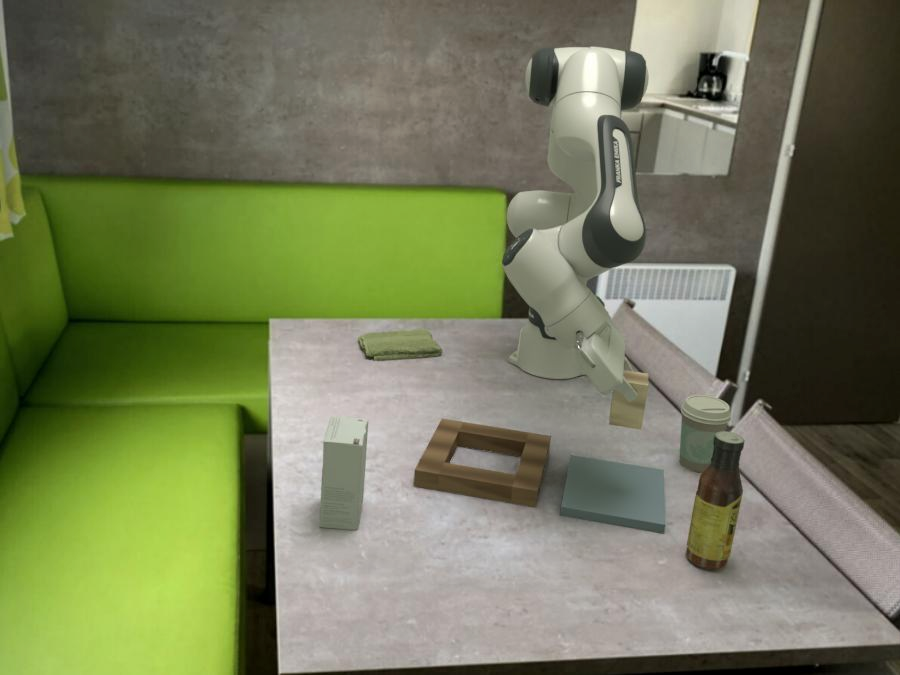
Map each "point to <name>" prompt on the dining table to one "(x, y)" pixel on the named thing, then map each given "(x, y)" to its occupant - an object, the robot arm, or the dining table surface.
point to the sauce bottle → (717, 504)
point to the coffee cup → (701, 429)
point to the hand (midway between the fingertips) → (634, 390)
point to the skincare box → (343, 472)
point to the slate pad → (615, 493)
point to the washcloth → (400, 345)
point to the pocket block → (482, 482)
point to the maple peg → (631, 411)
